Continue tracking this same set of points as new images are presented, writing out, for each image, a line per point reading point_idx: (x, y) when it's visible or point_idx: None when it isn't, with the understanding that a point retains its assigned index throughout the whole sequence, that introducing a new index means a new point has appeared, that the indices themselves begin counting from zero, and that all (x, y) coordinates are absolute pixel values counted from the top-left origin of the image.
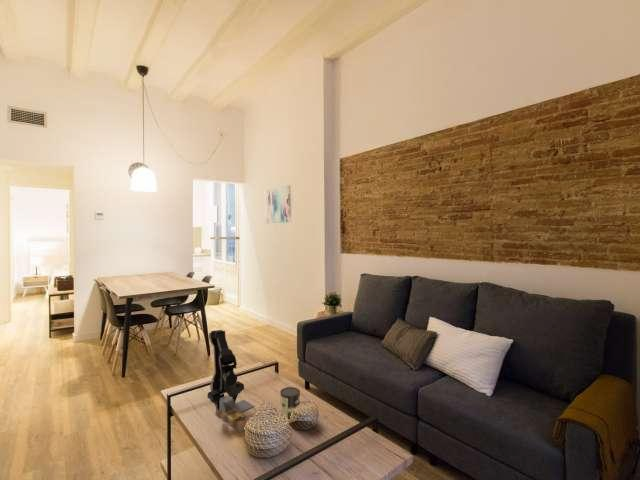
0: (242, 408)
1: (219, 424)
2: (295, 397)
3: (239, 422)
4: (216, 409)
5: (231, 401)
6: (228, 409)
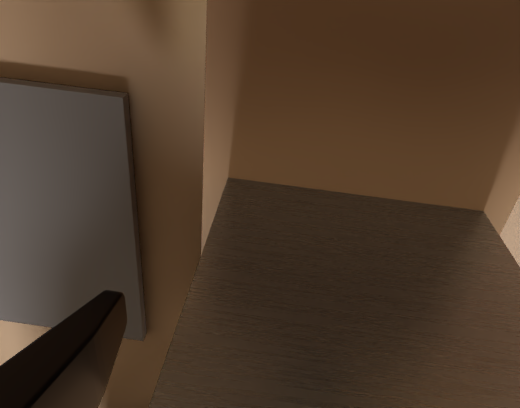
0: (4, 161)
1: None
2: None
3: None
4: None
5: (278, 384)
6: (388, 220)
